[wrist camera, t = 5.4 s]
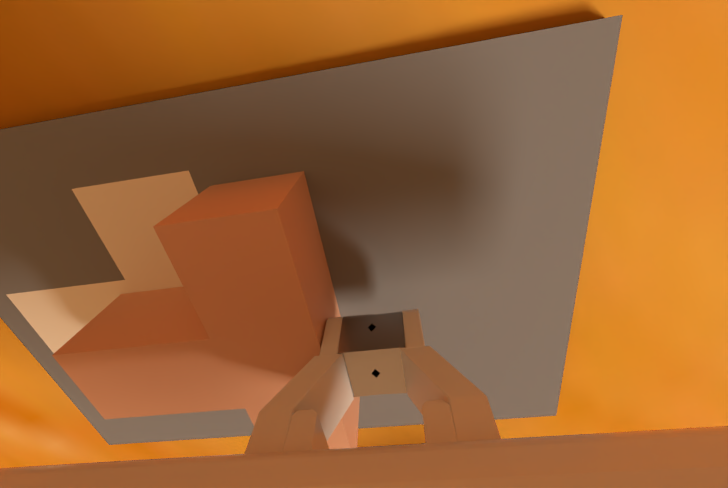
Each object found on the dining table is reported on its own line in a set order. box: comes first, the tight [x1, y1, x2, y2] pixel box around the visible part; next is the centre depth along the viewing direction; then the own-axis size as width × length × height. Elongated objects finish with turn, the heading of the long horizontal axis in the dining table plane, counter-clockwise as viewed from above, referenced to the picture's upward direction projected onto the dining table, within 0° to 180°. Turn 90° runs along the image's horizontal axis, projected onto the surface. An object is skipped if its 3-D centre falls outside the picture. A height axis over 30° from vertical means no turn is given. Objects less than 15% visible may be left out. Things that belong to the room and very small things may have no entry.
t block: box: [52, 171, 360, 449], centre depth 11 cm, size 8×10×3 cm
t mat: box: [0, 15, 622, 445], centre depth 13 cm, size 22×15×1 cm
